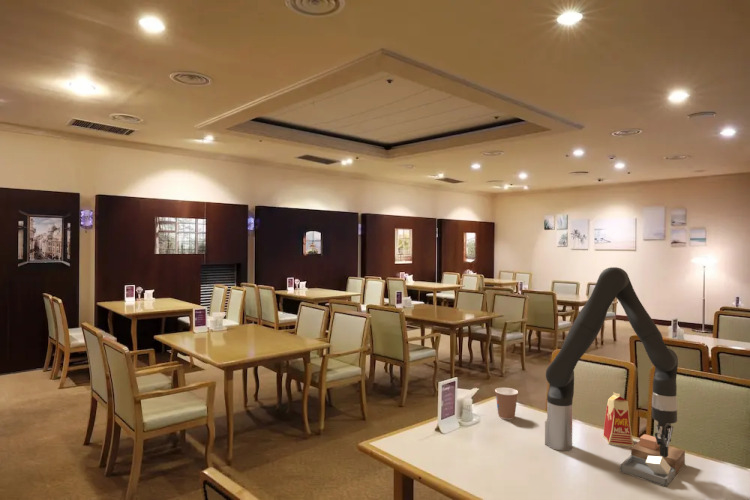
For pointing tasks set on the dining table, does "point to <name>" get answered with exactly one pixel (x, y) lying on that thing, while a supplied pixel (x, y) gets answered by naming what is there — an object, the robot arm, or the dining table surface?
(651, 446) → the salmon square block
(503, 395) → the coffee cup
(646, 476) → the tray
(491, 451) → the dining table surface
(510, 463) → the dining table surface
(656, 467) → the tile cream
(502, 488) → the dining table surface
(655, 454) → the bronze square platform
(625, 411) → the milk carton
